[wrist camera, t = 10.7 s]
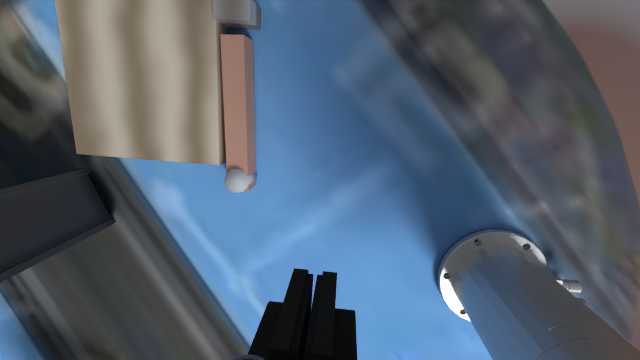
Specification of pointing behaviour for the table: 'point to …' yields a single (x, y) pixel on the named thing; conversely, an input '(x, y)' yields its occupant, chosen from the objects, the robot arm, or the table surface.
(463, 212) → the table surface
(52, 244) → the speaker
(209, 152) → the stool seat
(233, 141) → the folding leg
